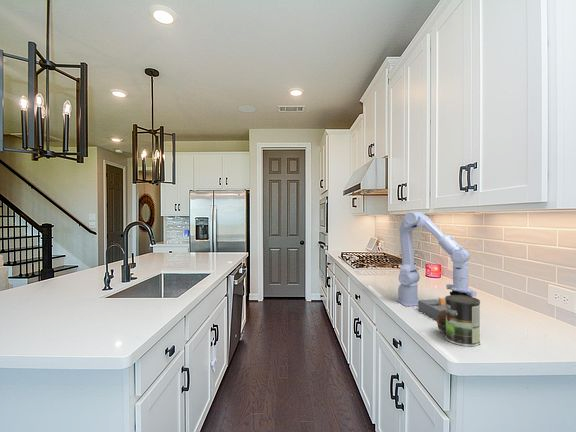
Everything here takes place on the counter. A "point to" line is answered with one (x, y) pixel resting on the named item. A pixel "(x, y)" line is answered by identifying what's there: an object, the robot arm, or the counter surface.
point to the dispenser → (430, 307)
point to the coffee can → (463, 320)
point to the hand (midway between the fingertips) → (460, 309)
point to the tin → (442, 320)
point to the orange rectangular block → (441, 301)
